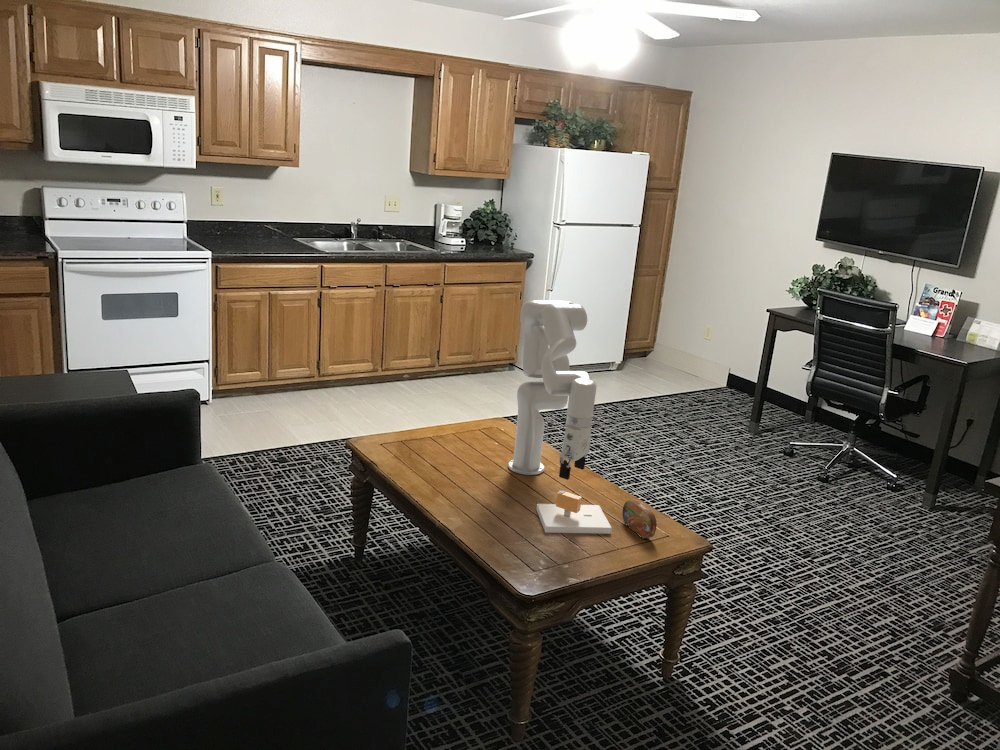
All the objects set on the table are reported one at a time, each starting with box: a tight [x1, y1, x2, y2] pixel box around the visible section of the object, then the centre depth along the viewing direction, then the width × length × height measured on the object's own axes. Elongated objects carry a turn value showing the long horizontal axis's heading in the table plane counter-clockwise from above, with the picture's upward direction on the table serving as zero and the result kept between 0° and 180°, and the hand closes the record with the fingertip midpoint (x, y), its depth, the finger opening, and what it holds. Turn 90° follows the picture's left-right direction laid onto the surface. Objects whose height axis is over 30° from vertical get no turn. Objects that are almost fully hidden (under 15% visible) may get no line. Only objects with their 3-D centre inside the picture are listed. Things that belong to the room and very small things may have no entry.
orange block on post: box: [555, 490, 583, 513], centre depth 243 cm, size 7×2×5 cm, turn 59°
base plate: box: [536, 503, 612, 535], centre depth 245 cm, size 15×20×4 cm
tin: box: [622, 500, 658, 539], centre depth 242 cm, size 15×3×8 cm, turn 23°
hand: (571, 473), depth 241 cm, fingers open, 9 cm apart
